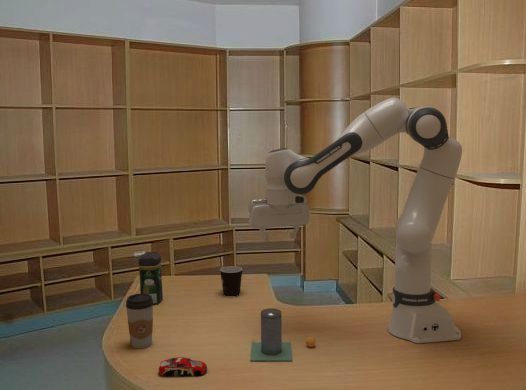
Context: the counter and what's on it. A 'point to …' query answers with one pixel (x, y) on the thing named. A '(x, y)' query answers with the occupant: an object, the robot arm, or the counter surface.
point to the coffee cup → (140, 319)
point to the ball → (310, 341)
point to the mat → (281, 357)
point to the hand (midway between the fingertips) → (279, 239)
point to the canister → (271, 331)
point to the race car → (182, 367)
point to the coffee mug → (231, 280)
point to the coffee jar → (151, 275)
